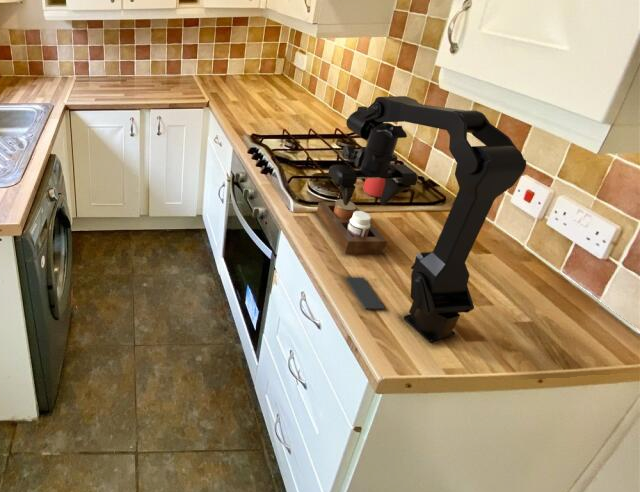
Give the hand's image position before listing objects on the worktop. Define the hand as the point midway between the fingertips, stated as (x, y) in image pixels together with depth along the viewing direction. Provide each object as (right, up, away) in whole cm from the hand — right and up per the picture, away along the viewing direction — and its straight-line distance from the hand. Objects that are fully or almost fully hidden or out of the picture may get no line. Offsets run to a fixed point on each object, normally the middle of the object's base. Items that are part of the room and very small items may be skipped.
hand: (363, 204), depth 102 cm
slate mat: (-6, -18, -11) cm, 22 cm away
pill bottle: (+1, -11, +5) cm, 12 cm away
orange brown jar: (+1, -7, +12) cm, 14 cm away
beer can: (+19, 0, +27) cm, 33 cm away
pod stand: (+1, -9, +9) cm, 12 cm away
